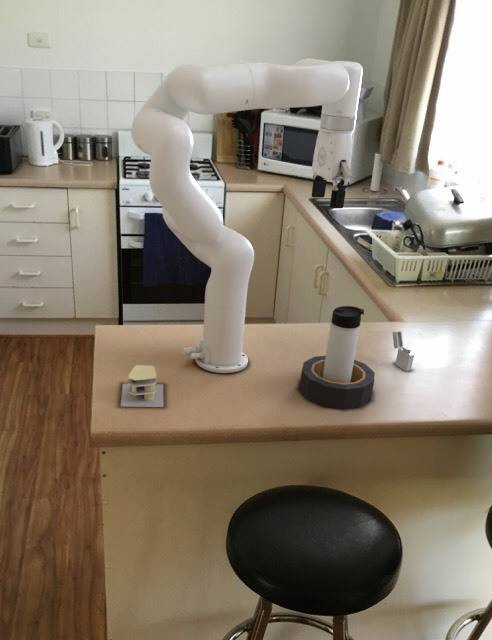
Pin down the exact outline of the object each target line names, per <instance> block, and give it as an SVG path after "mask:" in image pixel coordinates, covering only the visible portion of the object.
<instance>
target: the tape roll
mask: <svg viewBox="0 0 492 640" xmlns="http://www.w3.org/2000/svg"><path fill="white" fill-rule="evenodd" d="M325 358H326V355H317V356H313V357H311V358H309V359H307V360H305V361H303V363H302V368H301V373H300V379H299V380H300V381H299V388H298V390H299V391H300V392H301V394H302V395H303V396H304V397H305V399H306V400H308V401H310V402H313V403H315V404H317V405H320V406H322V407H325V408H332V409H339V410H348V409H356V408H361V407H363V406H364V405H366V404H368V403H369V402H371V400H372V395H373V390H374V384H375V375H376V374H375V373H376V372H374V370H373V369H371V368H370V367H369V366H368V364H367V363H364V362H362V361H359V360H357V359H354V364H353V370H352V375H351V381H350V383H338V382H331V381H328V380H326V379H324V378H323V371H324V365H325Z"/></svg>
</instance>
